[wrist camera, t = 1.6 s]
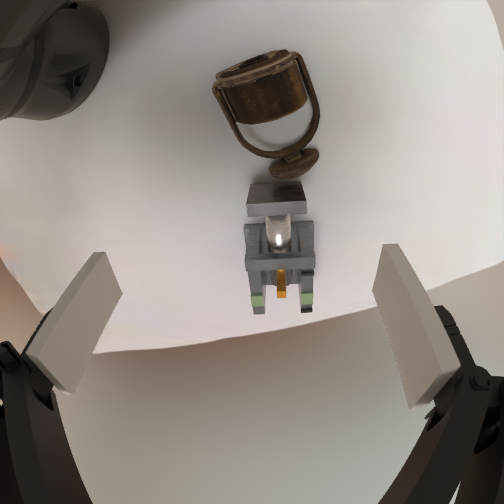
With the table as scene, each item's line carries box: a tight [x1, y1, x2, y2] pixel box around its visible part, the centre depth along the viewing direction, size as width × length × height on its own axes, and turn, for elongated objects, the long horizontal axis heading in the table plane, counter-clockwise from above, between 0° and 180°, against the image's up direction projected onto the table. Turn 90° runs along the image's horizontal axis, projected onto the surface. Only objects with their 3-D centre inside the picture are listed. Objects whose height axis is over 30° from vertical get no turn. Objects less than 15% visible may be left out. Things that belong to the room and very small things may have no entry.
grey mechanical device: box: [246, 181, 307, 298], centre depth 27 cm, size 10×5×8 cm, turn 6°
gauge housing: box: [244, 221, 315, 314], centre depth 31 cm, size 8×8×7 cm
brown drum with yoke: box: [212, 49, 320, 179], centre depth 22 cm, size 7×13×10 cm
